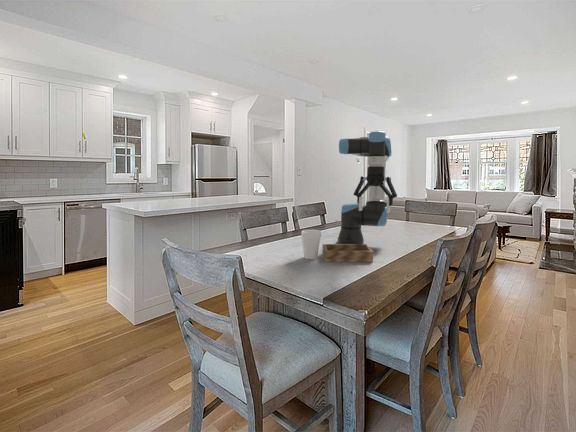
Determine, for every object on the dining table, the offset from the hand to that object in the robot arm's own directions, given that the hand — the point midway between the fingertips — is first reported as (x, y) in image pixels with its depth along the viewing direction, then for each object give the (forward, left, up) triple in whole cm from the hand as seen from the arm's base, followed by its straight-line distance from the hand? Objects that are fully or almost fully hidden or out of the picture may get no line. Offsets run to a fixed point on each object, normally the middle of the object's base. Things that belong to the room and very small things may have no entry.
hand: (374, 211), depth 158 cm
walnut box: (-7, -10, -23) cm, 26 cm away
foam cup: (-14, -26, -23) cm, 37 cm away
